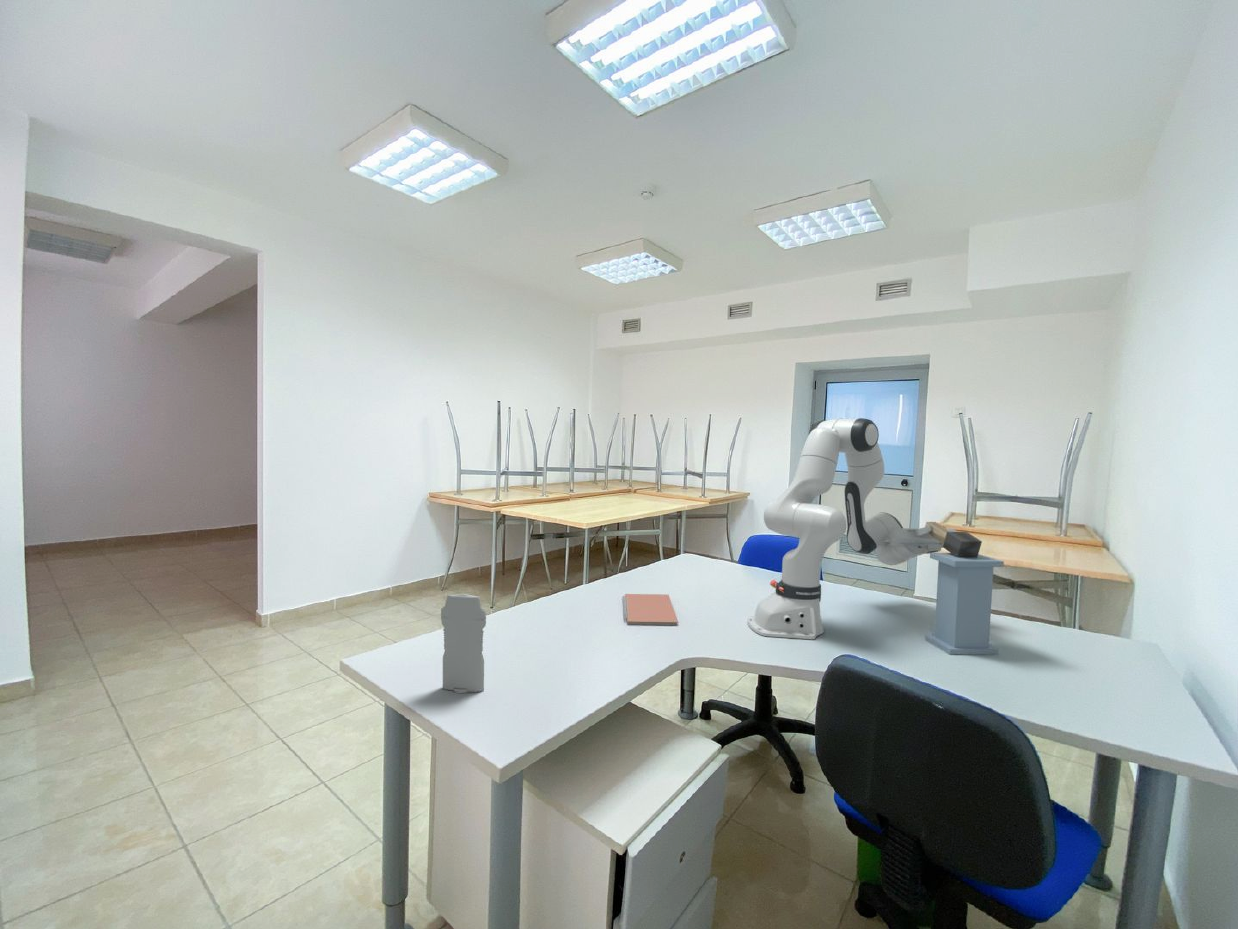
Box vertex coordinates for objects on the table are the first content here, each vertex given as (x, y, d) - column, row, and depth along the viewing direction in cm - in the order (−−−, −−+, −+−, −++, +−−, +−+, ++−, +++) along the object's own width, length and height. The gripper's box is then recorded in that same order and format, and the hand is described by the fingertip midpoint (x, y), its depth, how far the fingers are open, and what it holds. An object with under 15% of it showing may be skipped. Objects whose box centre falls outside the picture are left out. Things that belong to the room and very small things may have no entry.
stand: (949, 654, 138) (955, 561, 137) (925, 640, 148) (930, 552, 147) (998, 654, 139) (1003, 561, 138) (970, 639, 149) (975, 553, 148)
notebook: (622, 598, 182) (622, 593, 182) (668, 599, 183) (668, 593, 182) (623, 626, 155) (623, 620, 155) (678, 627, 155) (678, 621, 155)
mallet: (957, 557, 141) (961, 541, 140) (919, 530, 158) (923, 515, 156) (977, 557, 142) (982, 541, 140) (937, 530, 158) (941, 516, 156)
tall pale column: (489, 686, 116) (489, 592, 114) (482, 695, 112) (482, 597, 110) (445, 682, 117) (445, 589, 116) (436, 691, 113) (436, 595, 112)
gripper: (878, 533, 167) (902, 518, 154) (937, 533, 168) (965, 519, 156) (883, 551, 164) (907, 538, 152) (943, 551, 165) (972, 538, 153)
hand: (937, 528), depth 154 cm, fingers closed on mallet, 3 cm apart
